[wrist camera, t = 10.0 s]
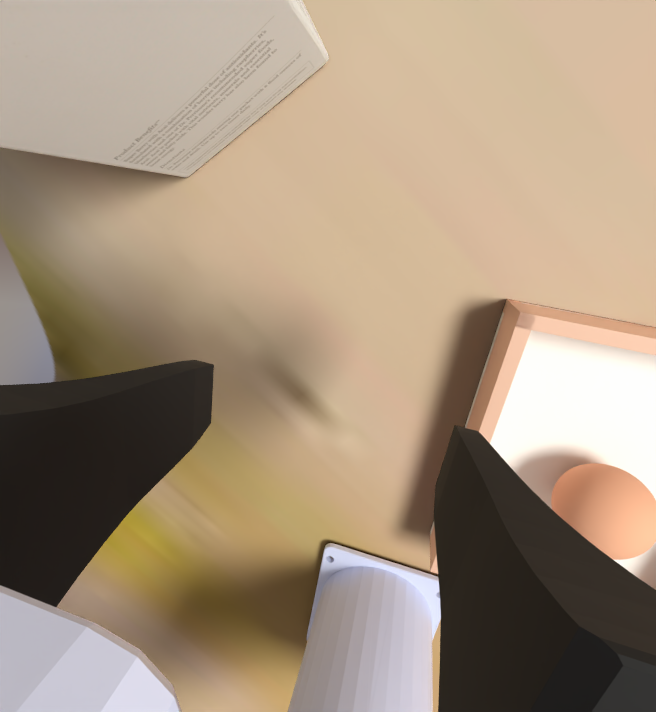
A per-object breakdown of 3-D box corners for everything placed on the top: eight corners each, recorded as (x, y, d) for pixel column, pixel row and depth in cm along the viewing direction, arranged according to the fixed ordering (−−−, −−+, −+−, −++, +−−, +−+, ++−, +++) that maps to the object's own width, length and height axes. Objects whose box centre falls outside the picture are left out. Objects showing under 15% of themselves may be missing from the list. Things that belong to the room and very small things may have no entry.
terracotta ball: (609, 523, 20) (657, 593, 16) (528, 502, 20) (555, 566, 16) (644, 458, 18) (705, 518, 14) (556, 438, 19) (593, 491, 15)
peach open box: (657, 600, 21) (689, 653, 18) (430, 532, 23) (430, 571, 20) (819, 358, 16) (897, 386, 13) (506, 299, 18) (520, 312, 15)
